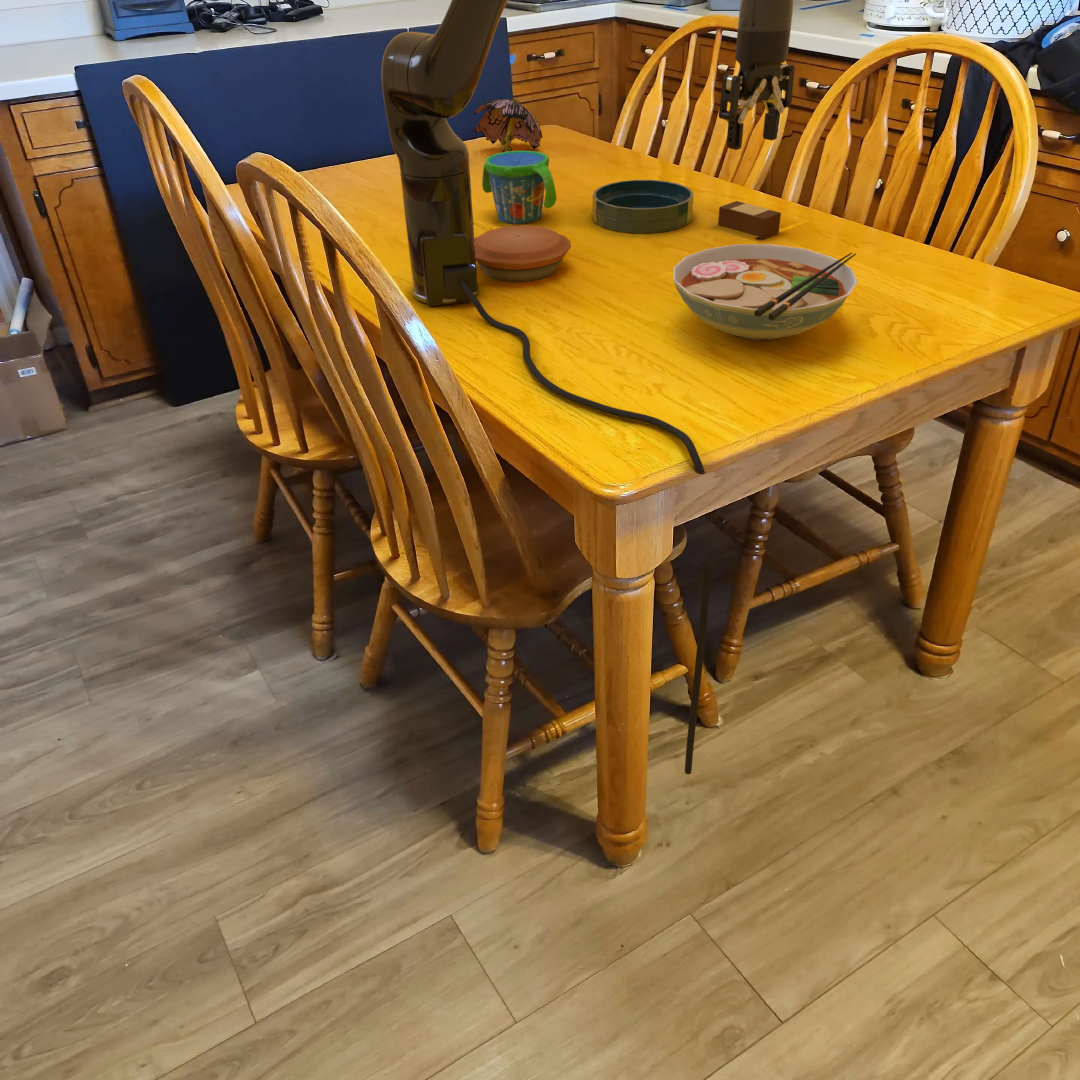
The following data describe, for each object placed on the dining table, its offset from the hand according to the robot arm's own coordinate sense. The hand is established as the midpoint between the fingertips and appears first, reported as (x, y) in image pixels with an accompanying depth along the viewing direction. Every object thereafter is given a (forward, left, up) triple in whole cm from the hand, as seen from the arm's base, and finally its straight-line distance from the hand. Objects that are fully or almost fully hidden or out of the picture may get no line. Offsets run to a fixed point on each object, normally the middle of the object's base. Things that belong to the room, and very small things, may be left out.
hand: (752, 143), depth 146 cm
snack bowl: (+10, +14, -14) cm, 22 cm away
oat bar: (0, -1, -14) cm, 14 cm away
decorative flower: (+61, +28, -14) cm, 69 cm away
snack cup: (+16, +34, -14) cm, 40 cm away
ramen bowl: (-37, +12, -14) cm, 41 cm away
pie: (-7, +38, -14) cm, 41 cm away
